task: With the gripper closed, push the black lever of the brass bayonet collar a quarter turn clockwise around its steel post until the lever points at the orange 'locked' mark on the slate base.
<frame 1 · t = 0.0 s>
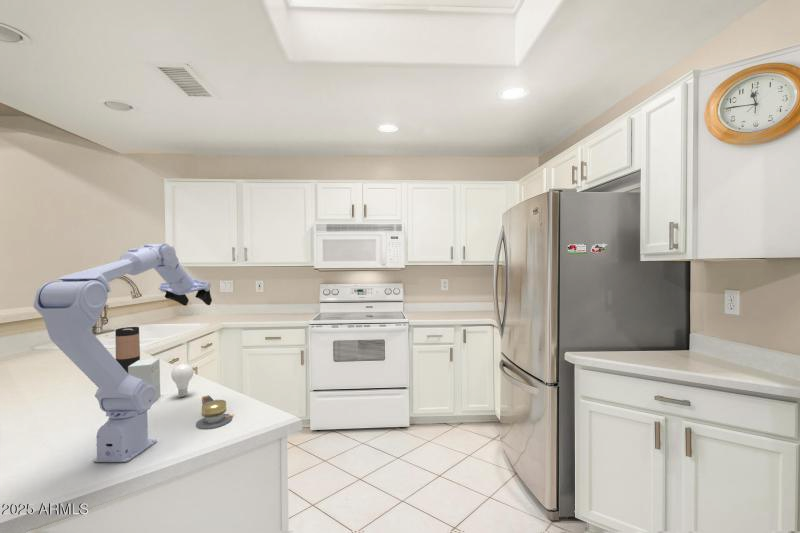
hand: (198, 302, 111), 32 cm above the counter, tool tilted 50°, fingers open, 7 cm apart
lightbulb: (183, 397, 118), on the counter
small box: (145, 402, 114), on the counter
post base: (214, 421, 98), on the counter
collar: (211, 405, 100), point 4 cm above the counter, hinge at 0.0°
travel mug: (128, 378, 139), on the counter
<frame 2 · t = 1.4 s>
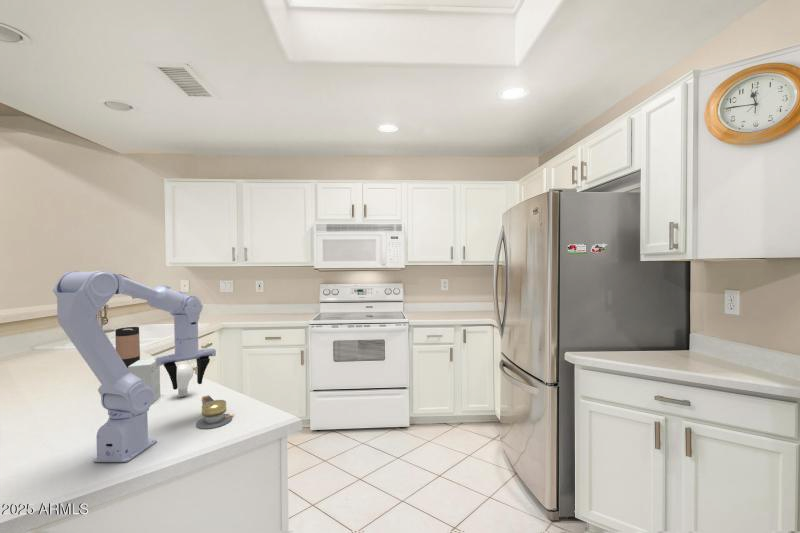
hand: (187, 385, 99), 10 cm above the counter, tool pointing down, fingers open, 5 cm apart
nothing on the counter moved.
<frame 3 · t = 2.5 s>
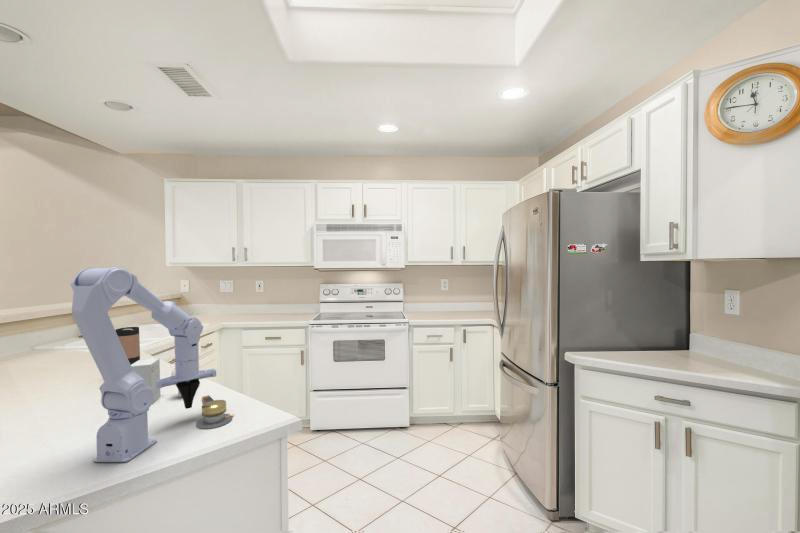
hand: (188, 407, 99), 4 cm above the counter, tool pointing down, fingers closed
nothing on the counter moved.
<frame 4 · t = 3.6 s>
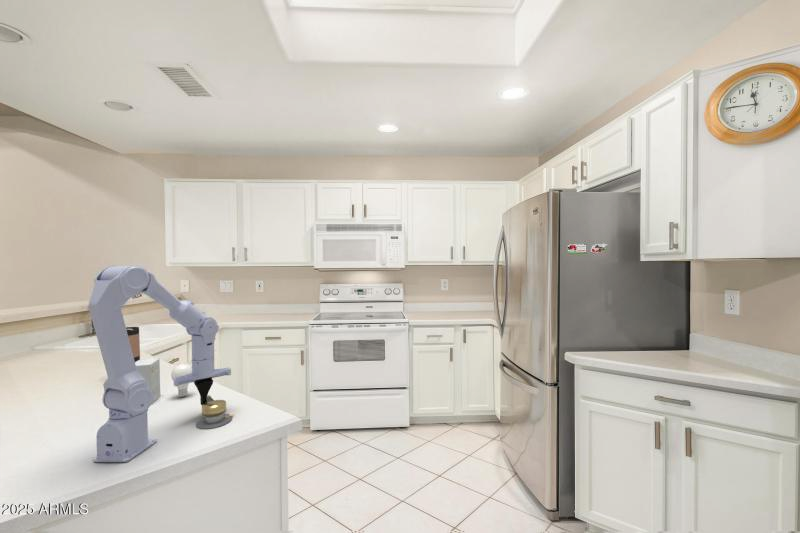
hand: (203, 404, 102), 3 cm above the counter, tool pointing down, fingers closed, pressing on collar
collar: (211, 405, 100), point 4 cm above the counter, hinge at -0.8°, touching gripper
everything else where it was.
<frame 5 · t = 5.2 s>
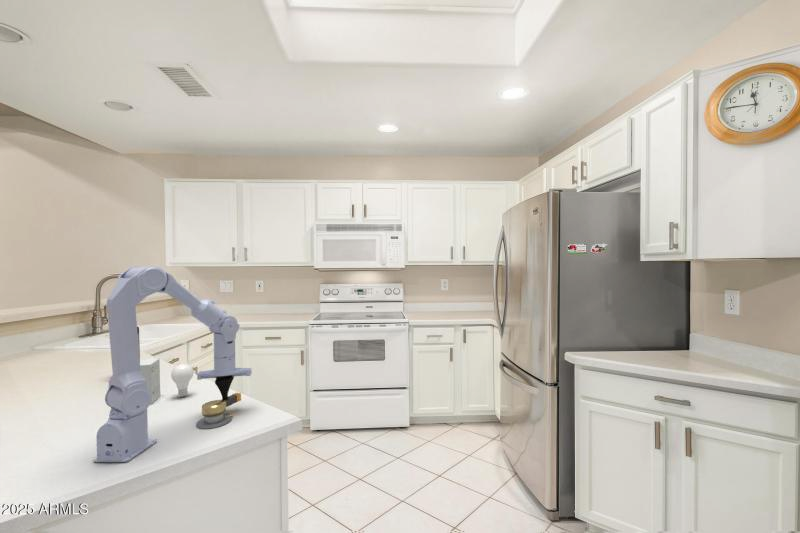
hand: (225, 401, 104), 3 cm above the counter, tool pointing down, fingers closed, pressing on collar
collar: (222, 404, 101), point 4 cm above the counter, hinge at -60.7°, touching gripper
everything else where it was.
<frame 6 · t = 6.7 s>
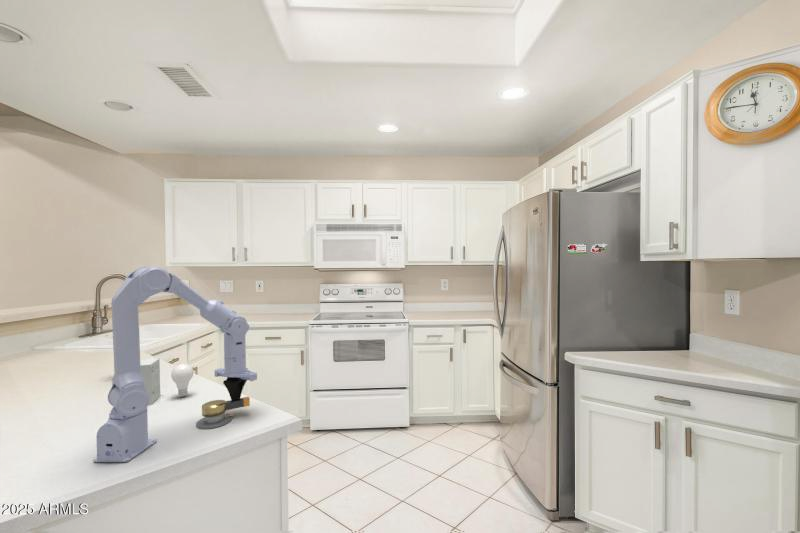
hand: (236, 402, 103), 3 cm above the counter, tool pointing down, fingers closed, pressing on collar
collar: (226, 405, 99), point 4 cm above the counter, hinge at -101.3°, touching gripper
everything else where it was.
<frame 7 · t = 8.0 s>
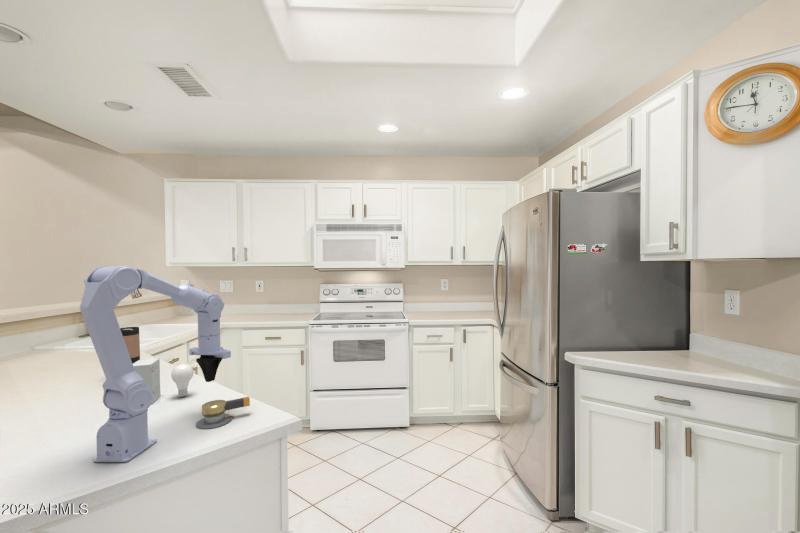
hand: (210, 380, 103), 10 cm above the counter, tool pointing down, fingers closed
collar: (226, 405, 99), point 4 cm above the counter, hinge at -101.4°
everything else where it was.
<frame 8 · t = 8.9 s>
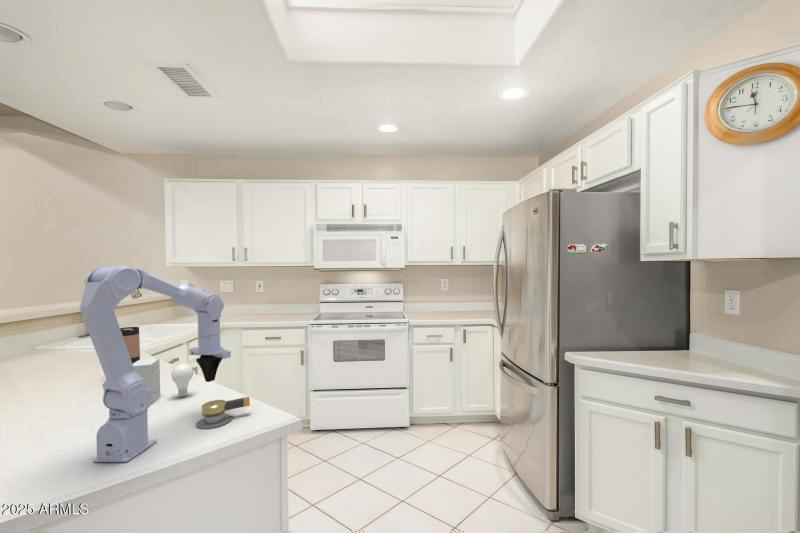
hand: (210, 380, 103), 10 cm above the counter, tool pointing down, fingers closed
nothing on the counter moved.
at the end: collar at -101° (first picture: +0°); lightbulb moved 0.2 cm from its start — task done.
